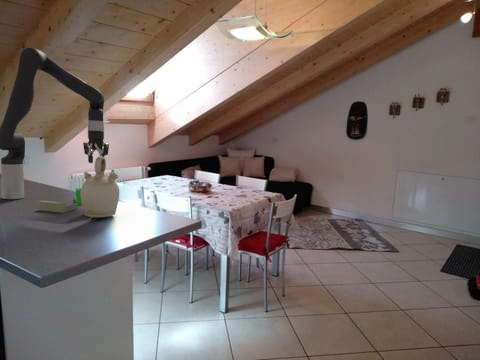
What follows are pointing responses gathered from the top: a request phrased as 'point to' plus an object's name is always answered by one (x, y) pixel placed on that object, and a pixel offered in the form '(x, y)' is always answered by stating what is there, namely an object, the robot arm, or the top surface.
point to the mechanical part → (78, 196)
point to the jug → (100, 192)
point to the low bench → (56, 206)
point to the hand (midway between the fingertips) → (96, 163)
